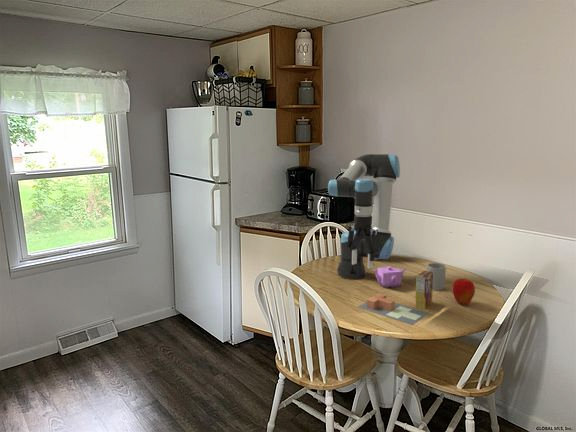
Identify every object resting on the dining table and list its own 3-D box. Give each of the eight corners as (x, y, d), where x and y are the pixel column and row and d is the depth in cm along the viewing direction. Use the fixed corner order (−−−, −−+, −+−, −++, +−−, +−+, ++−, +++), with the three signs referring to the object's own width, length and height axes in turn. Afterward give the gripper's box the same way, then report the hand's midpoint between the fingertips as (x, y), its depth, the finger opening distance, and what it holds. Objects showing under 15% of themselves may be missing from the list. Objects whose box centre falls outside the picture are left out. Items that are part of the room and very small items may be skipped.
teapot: (375, 292, 212) (376, 272, 210) (367, 282, 225) (368, 264, 223) (412, 290, 214) (413, 270, 212) (402, 280, 227) (402, 262, 225)
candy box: (423, 302, 200) (424, 269, 196) (432, 304, 197) (434, 271, 194) (414, 308, 193) (416, 275, 190) (423, 311, 190) (425, 277, 187)
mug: (447, 290, 214) (448, 268, 211) (429, 290, 213) (431, 268, 211) (438, 281, 225) (439, 260, 223) (421, 281, 225) (422, 260, 223)
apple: (478, 305, 195) (480, 279, 193) (461, 308, 192) (463, 282, 190) (463, 298, 204) (465, 273, 201) (447, 300, 201) (448, 275, 199)
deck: (357, 309, 193) (357, 307, 193) (375, 299, 204) (375, 297, 203) (412, 327, 175) (412, 325, 175) (429, 315, 186) (429, 313, 186)
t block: (366, 307, 192) (366, 299, 192) (379, 300, 199) (379, 293, 199) (386, 313, 186) (386, 305, 185) (398, 306, 193) (398, 298, 192)
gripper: (338, 213, 196) (338, 263, 201) (379, 219, 183) (377, 273, 187) (348, 210, 202) (348, 259, 206) (388, 216, 188) (386, 268, 193)
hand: (362, 265), depth 197 cm, fingers open, 8 cm apart
